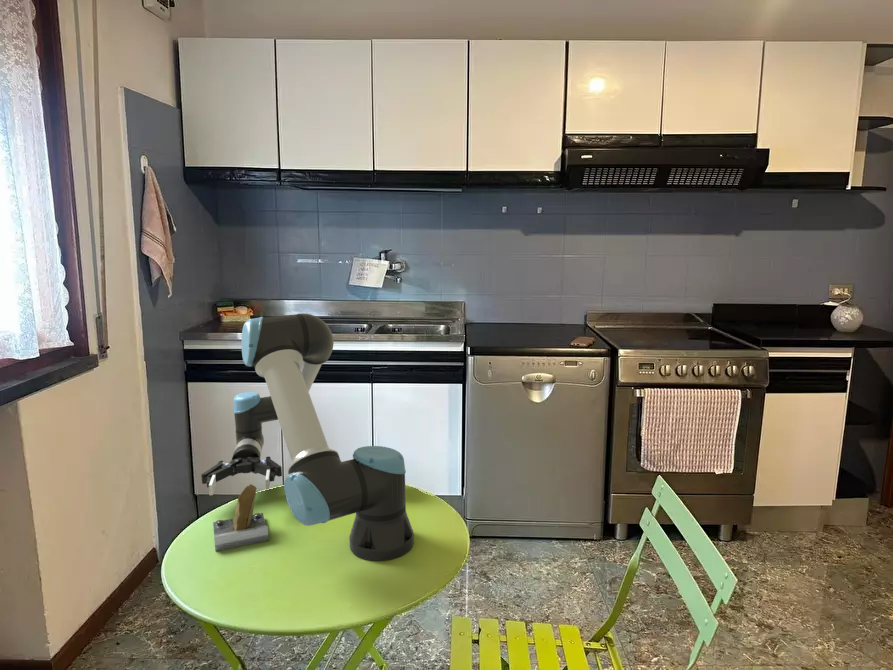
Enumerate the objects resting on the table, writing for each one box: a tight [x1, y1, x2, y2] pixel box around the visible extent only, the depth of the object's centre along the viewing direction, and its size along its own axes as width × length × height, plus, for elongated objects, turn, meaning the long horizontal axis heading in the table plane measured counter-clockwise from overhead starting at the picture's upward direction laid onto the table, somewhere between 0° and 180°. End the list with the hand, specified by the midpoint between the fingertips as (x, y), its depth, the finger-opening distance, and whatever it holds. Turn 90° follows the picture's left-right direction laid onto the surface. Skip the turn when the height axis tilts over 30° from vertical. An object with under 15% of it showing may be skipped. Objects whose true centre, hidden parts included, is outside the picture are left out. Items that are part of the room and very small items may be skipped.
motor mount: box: [212, 512, 270, 552], centre depth 147 cm, size 12×12×4 cm
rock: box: [233, 484, 257, 531], centre depth 147 cm, size 11×9×10 cm
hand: (239, 487), depth 152 cm, fingers open, 13 cm apart
